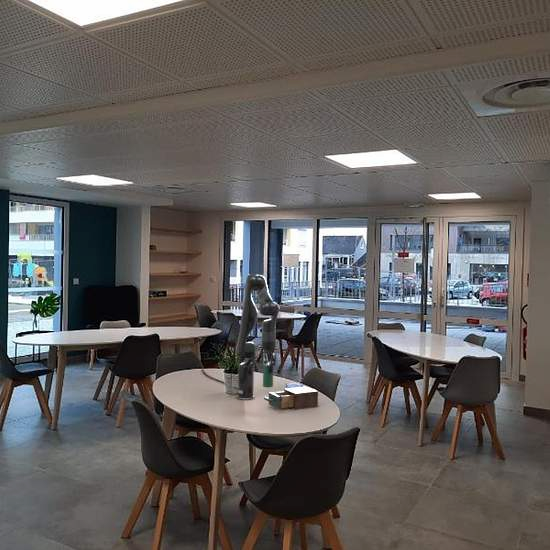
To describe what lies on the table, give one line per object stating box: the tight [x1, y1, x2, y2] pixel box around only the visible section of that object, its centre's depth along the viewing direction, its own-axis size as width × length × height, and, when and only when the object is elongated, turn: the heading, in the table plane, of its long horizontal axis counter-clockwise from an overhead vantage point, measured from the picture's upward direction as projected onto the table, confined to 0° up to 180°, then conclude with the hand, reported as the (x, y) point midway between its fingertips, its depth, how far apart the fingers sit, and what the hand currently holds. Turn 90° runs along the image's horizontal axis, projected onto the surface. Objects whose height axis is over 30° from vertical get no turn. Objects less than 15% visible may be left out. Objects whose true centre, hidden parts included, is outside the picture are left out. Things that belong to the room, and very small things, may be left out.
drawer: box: [263, 391, 294, 410], centre depth 298 cm, size 18×12×7 cm, turn 117°
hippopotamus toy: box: [284, 382, 304, 389], centre depth 323 cm, size 11×15×10 cm
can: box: [262, 363, 274, 388], centre depth 282 cm, size 5×5×12 cm
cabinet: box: [283, 386, 319, 410], centre depth 304 cm, size 15×13×9 cm
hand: (268, 372), depth 282 cm, fingers closed on can, 5 cm apart
